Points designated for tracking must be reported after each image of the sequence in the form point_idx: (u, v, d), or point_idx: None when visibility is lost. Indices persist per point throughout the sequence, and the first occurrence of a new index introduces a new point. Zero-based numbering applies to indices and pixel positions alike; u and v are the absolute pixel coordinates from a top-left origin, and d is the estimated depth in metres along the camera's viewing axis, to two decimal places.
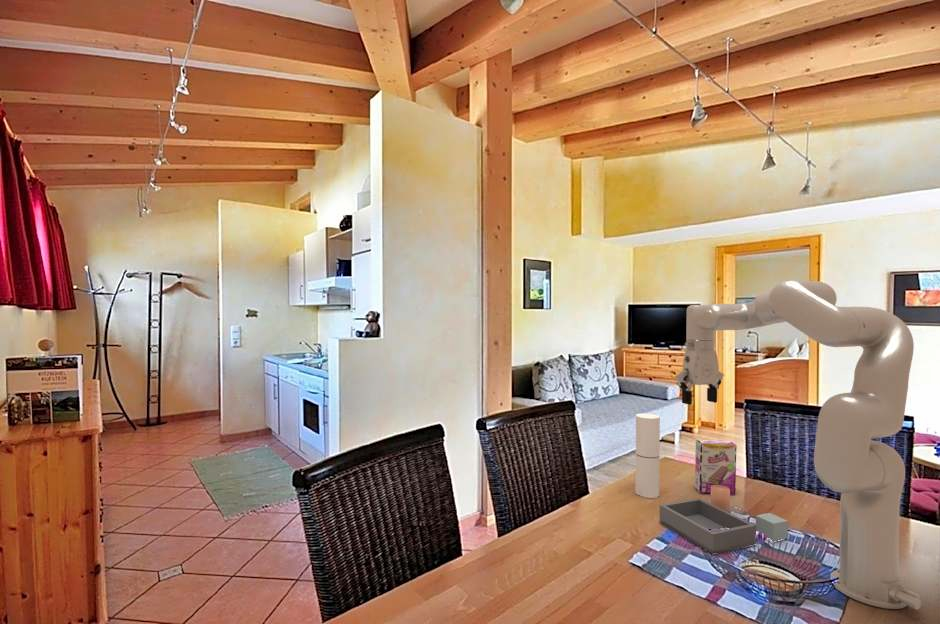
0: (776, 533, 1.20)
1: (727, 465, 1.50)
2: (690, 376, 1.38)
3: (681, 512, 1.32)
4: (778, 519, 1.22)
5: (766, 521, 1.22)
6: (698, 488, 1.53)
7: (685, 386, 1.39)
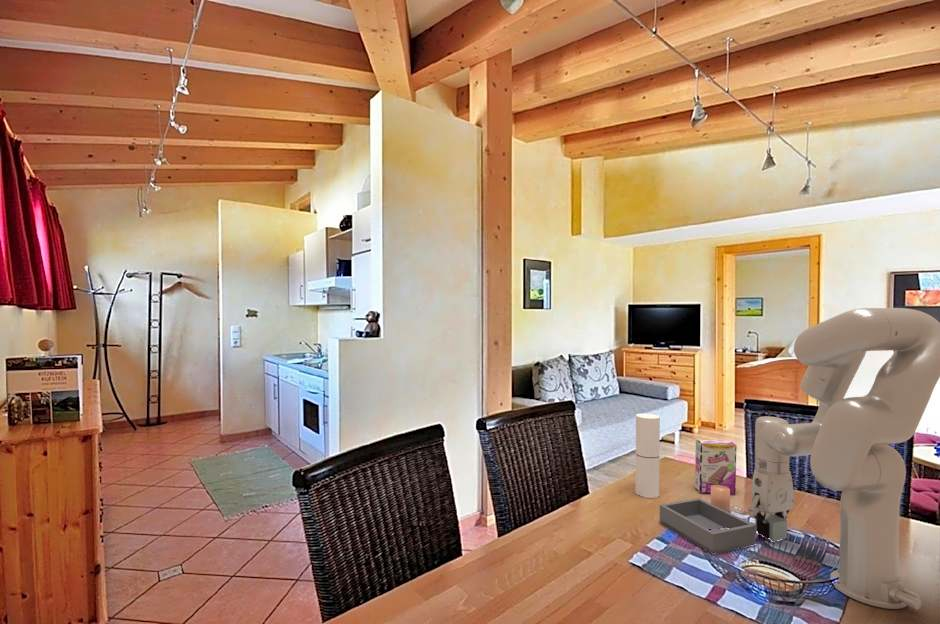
0: (776, 532, 1.20)
1: (727, 465, 1.50)
2: None
3: (681, 512, 1.32)
4: (778, 519, 1.22)
5: None
6: (698, 488, 1.53)
7: (761, 519, 1.21)
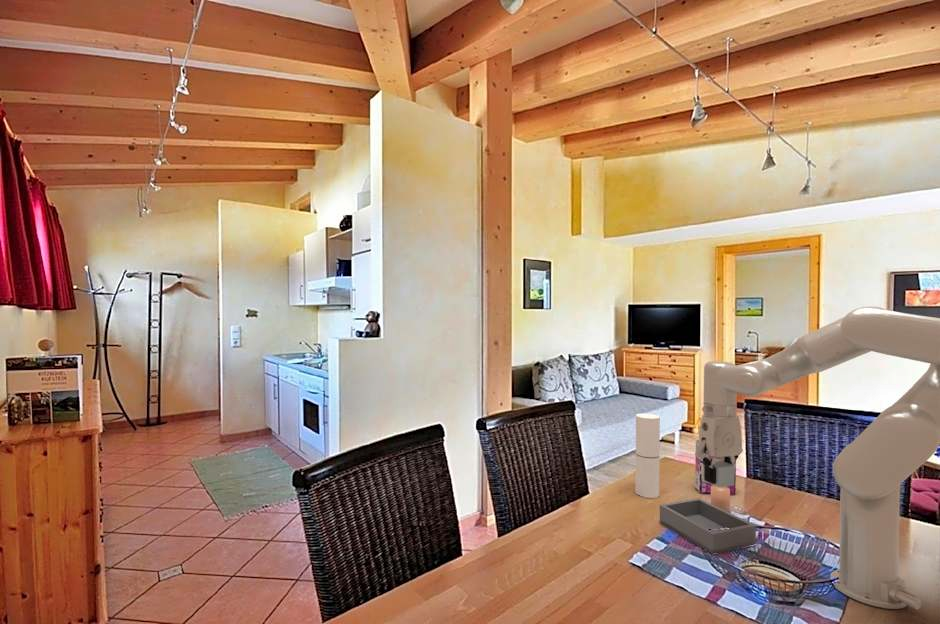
0: (722, 477, 1.18)
1: None
2: None
3: (681, 512, 1.32)
4: (725, 464, 1.20)
5: None
6: (698, 488, 1.53)
7: (708, 464, 1.19)
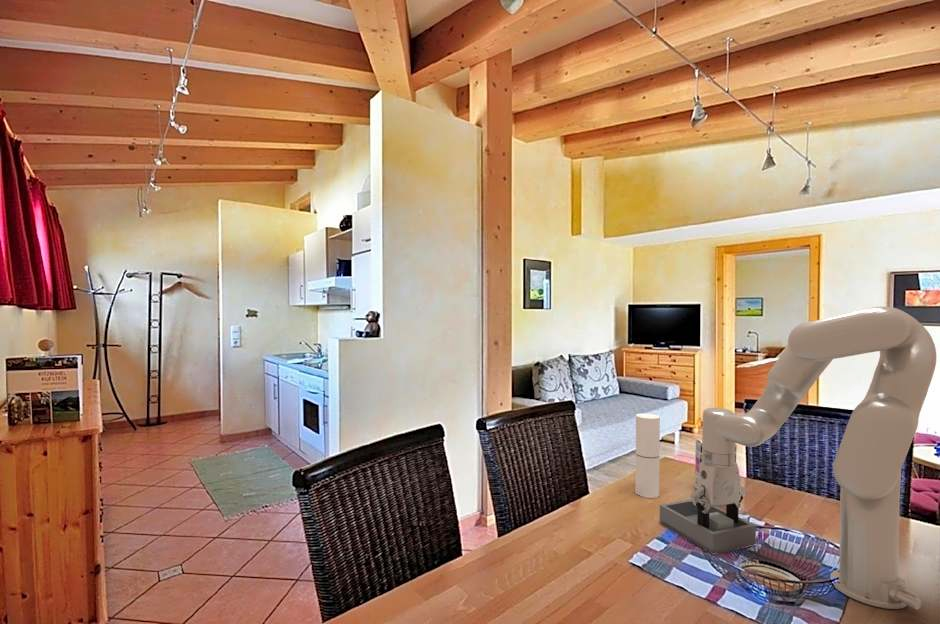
0: None
1: None
2: (707, 496, 1.18)
3: (681, 512, 1.32)
4: (724, 518, 1.20)
5: (711, 520, 1.19)
6: None
7: (701, 507, 1.18)
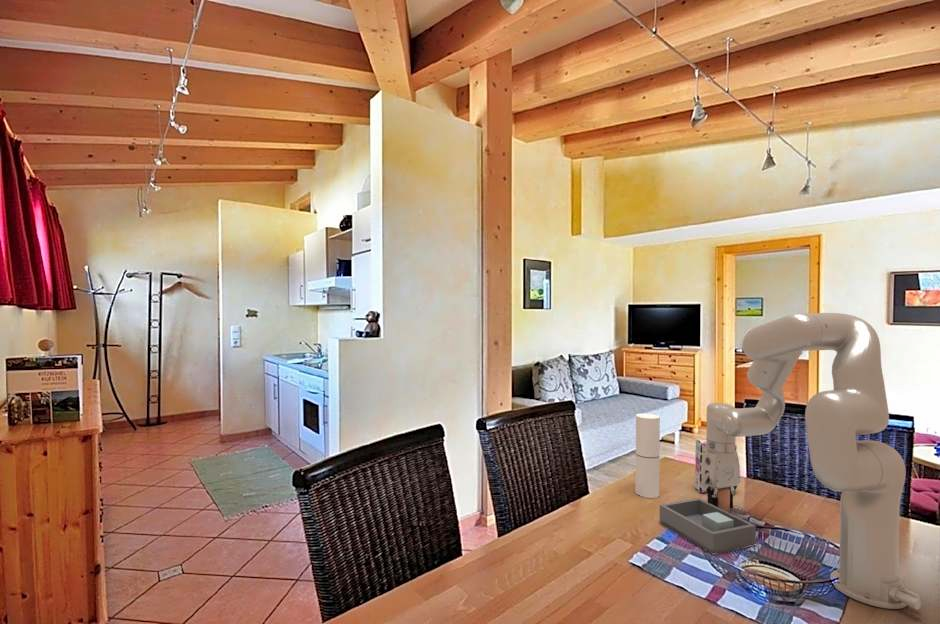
0: None
1: None
2: None
3: (681, 512, 1.32)
4: (724, 518, 1.20)
5: (711, 520, 1.19)
6: (698, 488, 1.53)
7: (710, 493, 1.36)
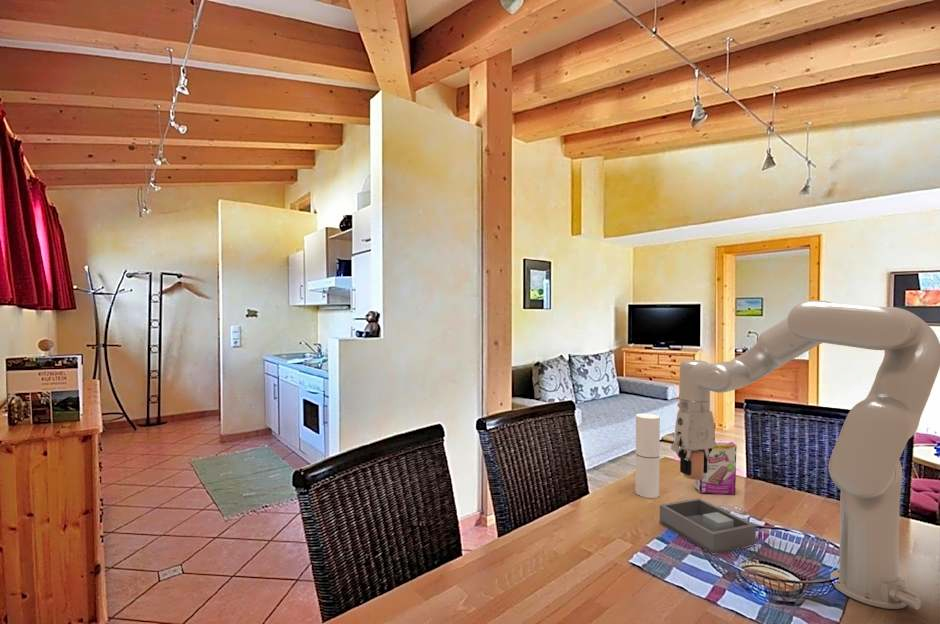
0: None
1: (727, 465, 1.50)
2: None
3: (681, 512, 1.32)
4: (724, 518, 1.20)
5: (711, 520, 1.19)
6: (698, 488, 1.53)
7: (683, 456, 1.26)
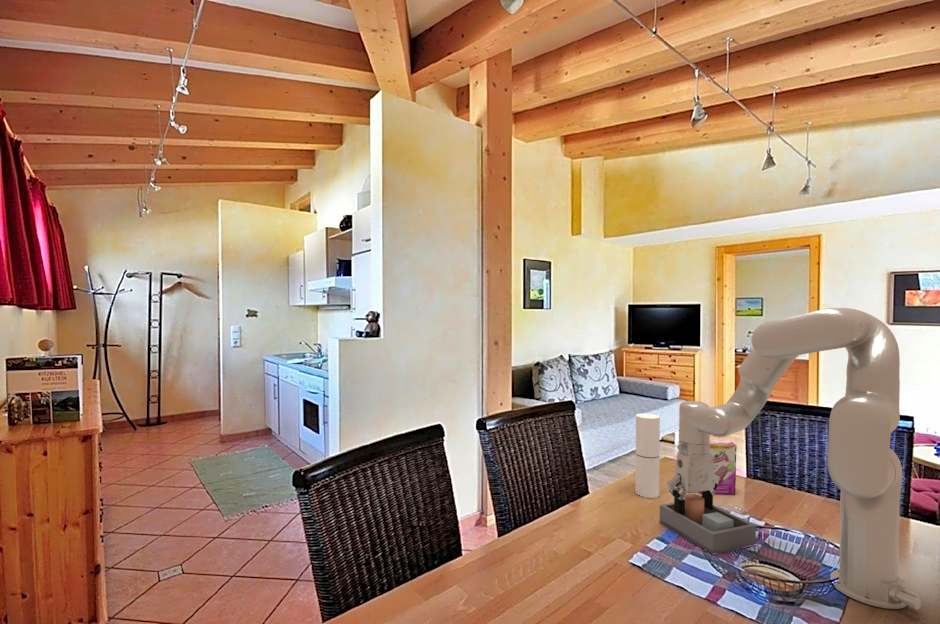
0: None
1: (727, 465, 1.50)
2: (683, 483, 1.25)
3: None
4: (724, 518, 1.20)
5: (711, 520, 1.19)
6: None
7: (677, 494, 1.25)
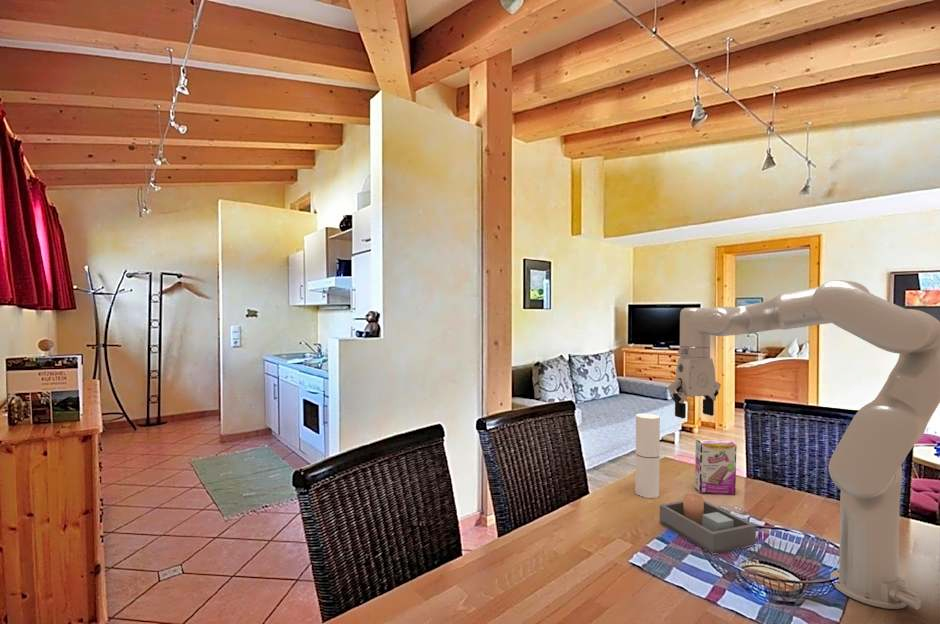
0: None
1: (727, 465, 1.50)
2: (684, 387, 1.25)
3: (681, 512, 1.32)
4: (724, 518, 1.20)
5: (711, 520, 1.19)
6: (698, 488, 1.53)
7: (678, 398, 1.25)
